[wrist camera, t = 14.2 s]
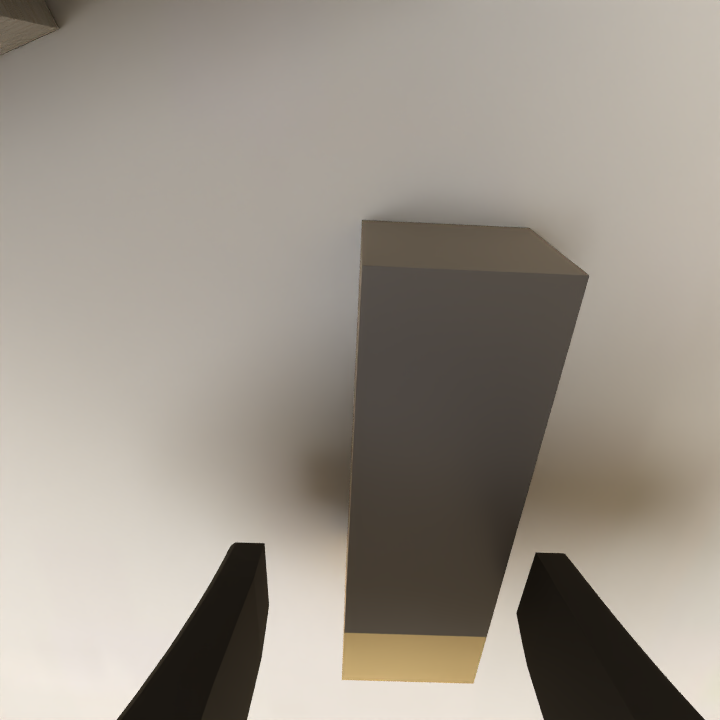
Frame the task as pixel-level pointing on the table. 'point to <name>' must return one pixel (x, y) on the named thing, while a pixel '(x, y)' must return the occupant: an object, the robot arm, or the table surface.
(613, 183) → the table surface
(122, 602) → the table surface
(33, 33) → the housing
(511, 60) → the table surface
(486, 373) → the grey rectangular bar
